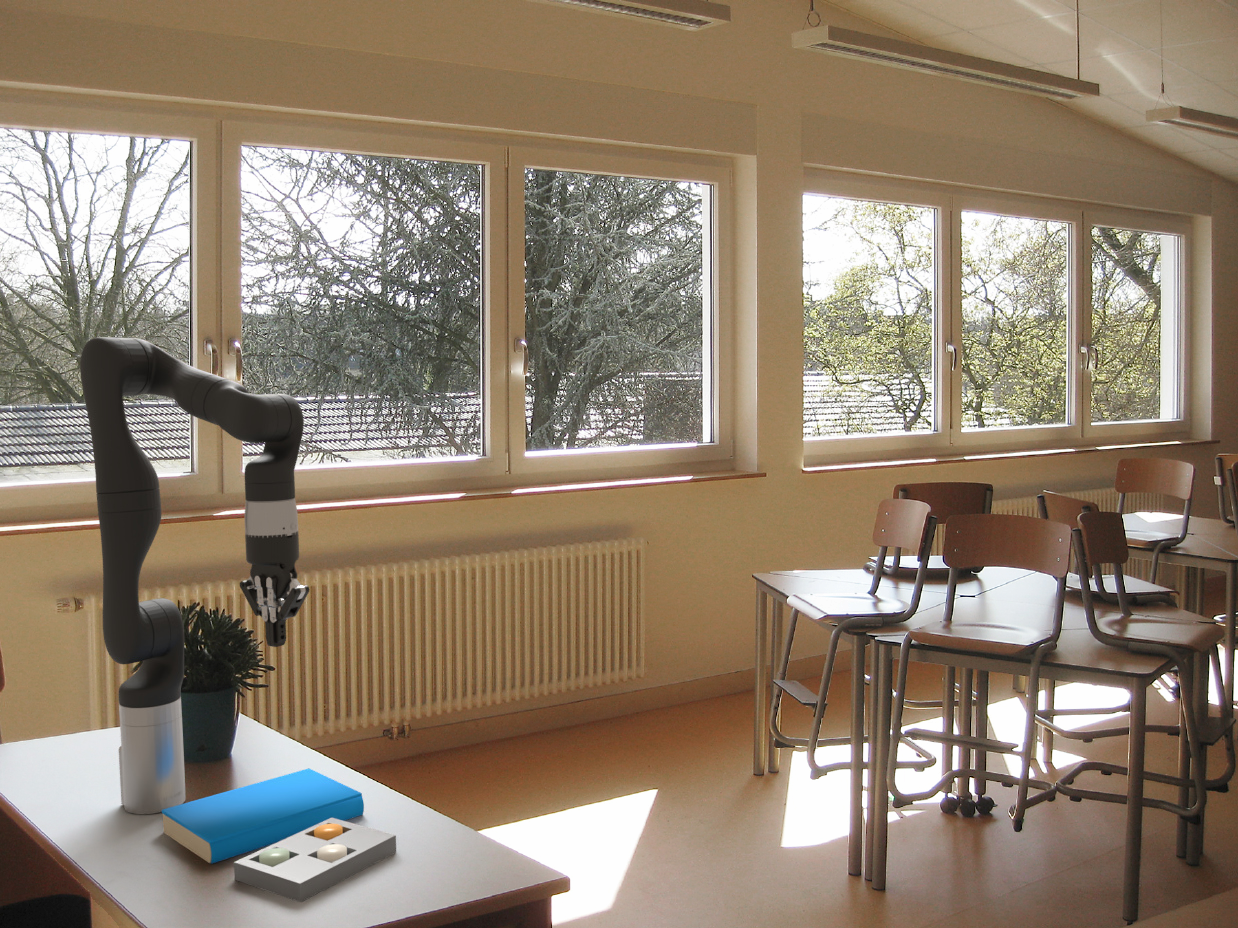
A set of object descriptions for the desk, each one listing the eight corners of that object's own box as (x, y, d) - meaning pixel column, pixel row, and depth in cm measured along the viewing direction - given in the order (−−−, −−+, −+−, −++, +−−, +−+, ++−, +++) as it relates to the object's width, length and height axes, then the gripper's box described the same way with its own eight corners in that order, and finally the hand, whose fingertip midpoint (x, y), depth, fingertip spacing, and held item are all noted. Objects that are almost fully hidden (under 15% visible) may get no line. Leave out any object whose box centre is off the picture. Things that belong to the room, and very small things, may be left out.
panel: (234, 879, 156) (233, 862, 156) (332, 833, 171) (331, 817, 171) (300, 902, 149) (300, 883, 149) (396, 852, 164) (395, 835, 164)
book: (160, 810, 172) (307, 765, 190) (161, 837, 173) (309, 790, 190) (211, 841, 160) (364, 791, 178) (213, 871, 161) (365, 817, 178)
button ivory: (311, 869, 158) (311, 852, 158) (333, 859, 161) (332, 842, 161) (332, 876, 156) (331, 858, 155) (353, 865, 159) (352, 847, 159)
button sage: (253, 874, 157) (252, 856, 157) (276, 863, 160) (275, 845, 160) (273, 880, 155) (272, 862, 154) (296, 869, 158) (295, 851, 158)
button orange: (308, 847, 165) (308, 831, 165) (329, 838, 169) (328, 821, 168) (328, 853, 163) (327, 836, 163) (348, 843, 166) (348, 827, 166)
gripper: (220, 530, 167) (226, 645, 169) (282, 536, 160) (287, 656, 162) (261, 524, 174) (266, 635, 175) (322, 529, 167) (326, 645, 168)
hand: (276, 645), depth 169 cm, fingers closed
